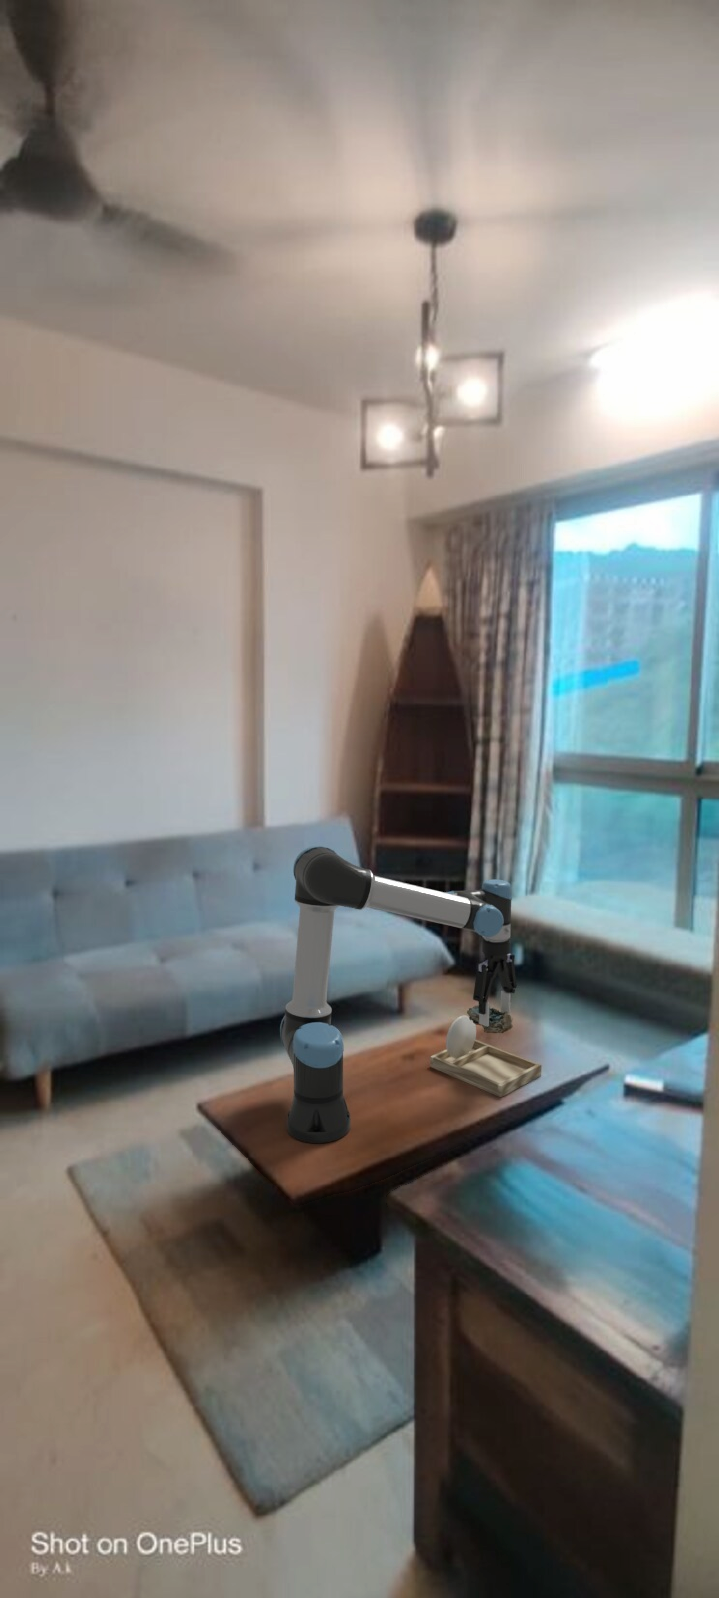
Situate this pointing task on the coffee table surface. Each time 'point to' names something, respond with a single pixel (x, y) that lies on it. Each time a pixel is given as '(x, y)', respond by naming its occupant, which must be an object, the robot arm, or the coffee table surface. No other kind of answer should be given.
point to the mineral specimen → (492, 1020)
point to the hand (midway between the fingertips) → (494, 1019)
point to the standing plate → (460, 1037)
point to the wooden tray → (488, 1068)
